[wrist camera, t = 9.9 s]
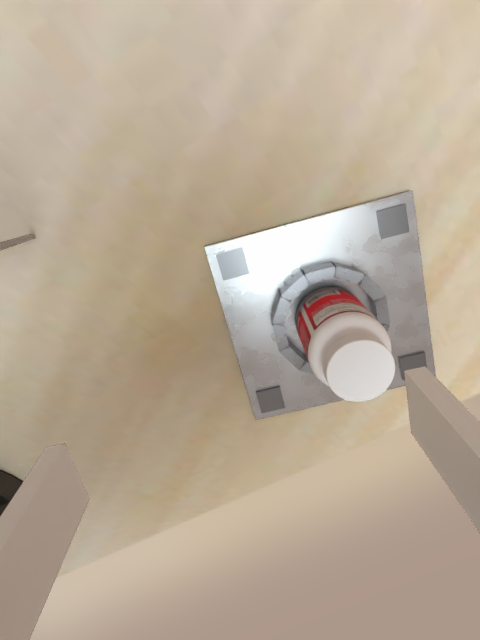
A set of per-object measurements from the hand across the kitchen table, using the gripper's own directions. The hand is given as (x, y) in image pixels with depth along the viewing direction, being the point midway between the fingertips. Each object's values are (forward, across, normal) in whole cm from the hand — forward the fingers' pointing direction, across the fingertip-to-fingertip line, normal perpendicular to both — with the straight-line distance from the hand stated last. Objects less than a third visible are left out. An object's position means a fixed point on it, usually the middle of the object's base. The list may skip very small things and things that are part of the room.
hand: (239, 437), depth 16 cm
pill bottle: (+23, +8, -5) cm, 25 cm away
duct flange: (+24, +8, -5) cm, 25 cm away
